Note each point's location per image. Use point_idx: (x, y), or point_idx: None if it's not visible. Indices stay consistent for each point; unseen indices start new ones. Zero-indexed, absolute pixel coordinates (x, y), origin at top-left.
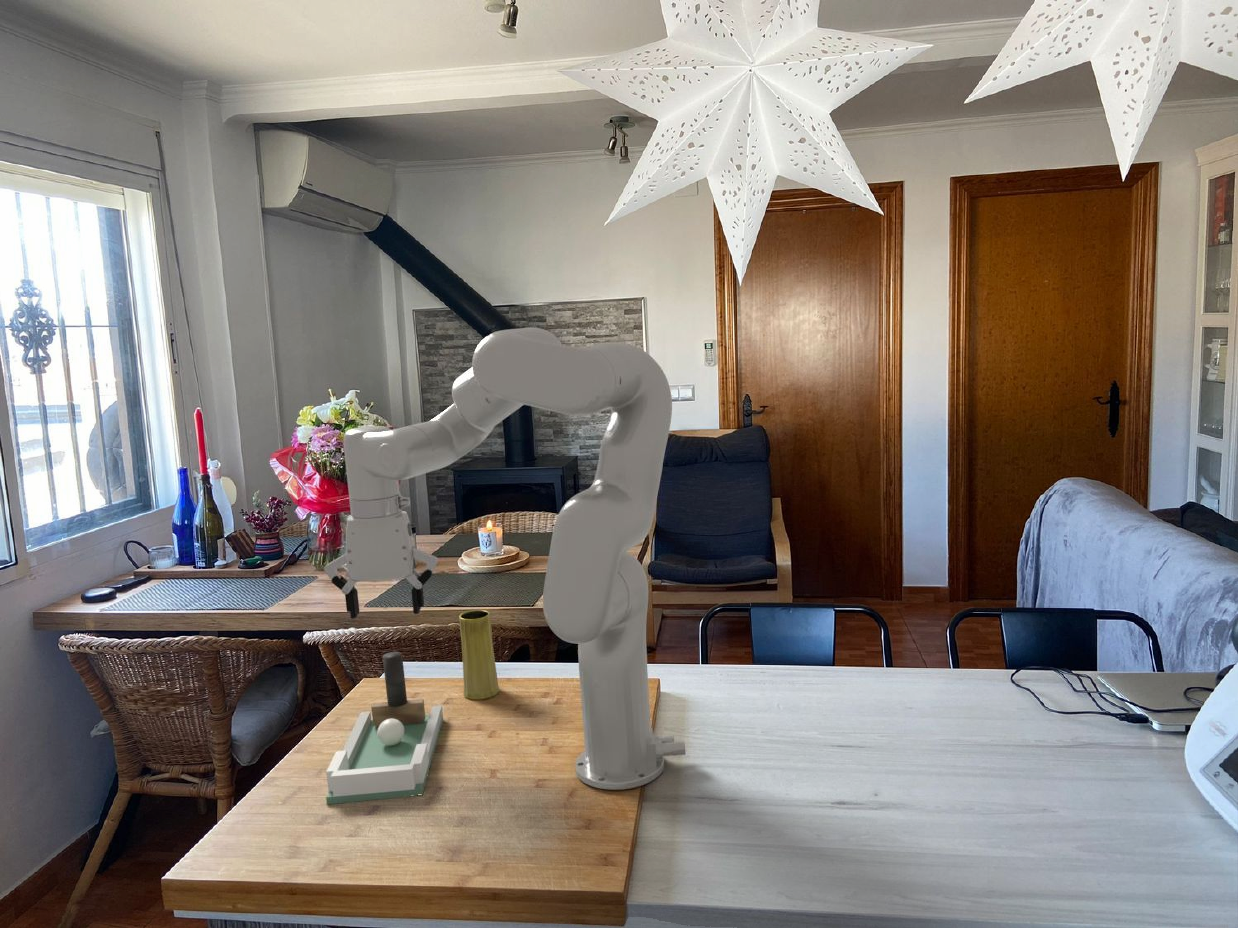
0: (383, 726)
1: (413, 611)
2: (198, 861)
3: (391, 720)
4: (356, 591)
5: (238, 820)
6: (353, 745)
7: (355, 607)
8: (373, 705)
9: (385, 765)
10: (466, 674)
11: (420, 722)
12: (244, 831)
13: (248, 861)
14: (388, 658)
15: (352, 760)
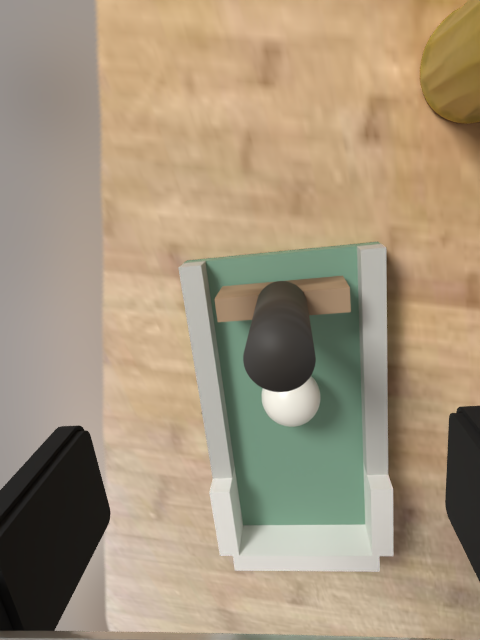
0: (280, 423)
1: (451, 522)
2: (115, 618)
3: (296, 413)
4: (10, 565)
5: (114, 548)
6: (222, 426)
7: (82, 543)
8: (220, 313)
9: (299, 460)
10: (465, 93)
11: None
12: (138, 573)
13: (179, 628)
14: (272, 387)
15: (230, 441)
